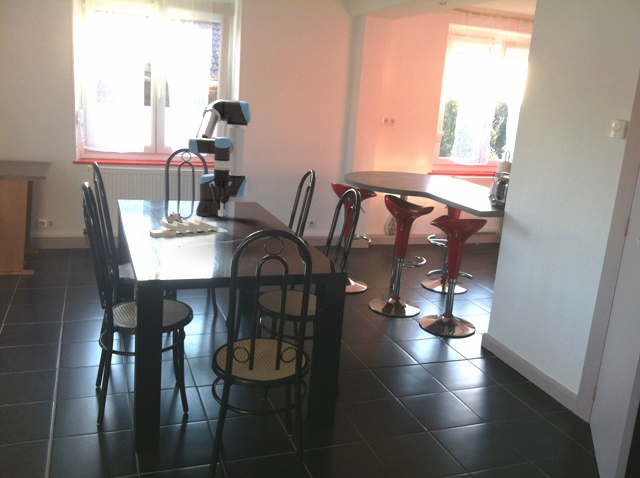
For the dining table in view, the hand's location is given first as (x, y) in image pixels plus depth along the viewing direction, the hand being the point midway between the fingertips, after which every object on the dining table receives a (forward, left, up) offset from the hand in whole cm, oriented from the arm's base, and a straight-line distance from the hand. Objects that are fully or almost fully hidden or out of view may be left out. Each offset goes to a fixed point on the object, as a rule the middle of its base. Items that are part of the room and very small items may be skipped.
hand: (220, 215), depth 296 cm
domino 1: (+25, 0, -6) cm, 26 cm away
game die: (+17, -16, -9) cm, 25 cm away
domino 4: (+8, 0, -6) cm, 10 cm away
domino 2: (+20, 0, -6) cm, 21 cm away
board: (+12, 0, -8) cm, 15 cm away
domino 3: (+14, 0, -6) cm, 15 cm away
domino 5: (+3, 0, -6) cm, 7 cm away
